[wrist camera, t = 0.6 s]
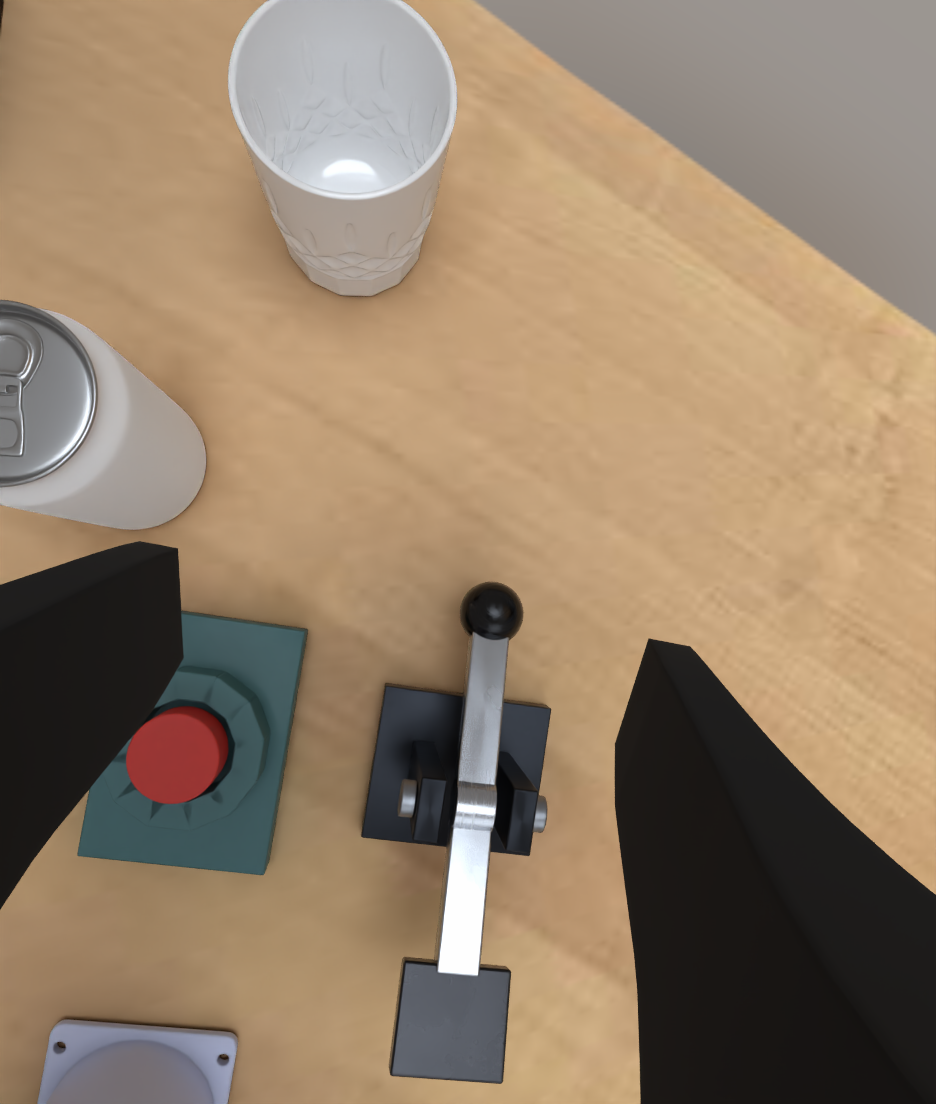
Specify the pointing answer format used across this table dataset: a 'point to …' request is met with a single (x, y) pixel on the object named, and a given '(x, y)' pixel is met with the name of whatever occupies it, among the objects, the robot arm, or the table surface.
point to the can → (88, 428)
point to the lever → (465, 880)
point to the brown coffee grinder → (0, 2)
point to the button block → (249, 772)
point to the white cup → (345, 132)
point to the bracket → (451, 770)
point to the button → (177, 754)
